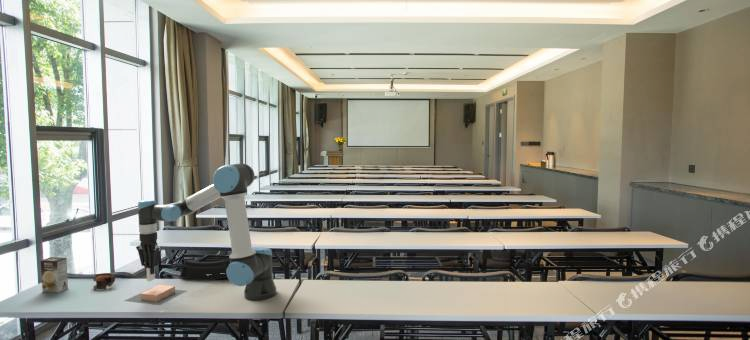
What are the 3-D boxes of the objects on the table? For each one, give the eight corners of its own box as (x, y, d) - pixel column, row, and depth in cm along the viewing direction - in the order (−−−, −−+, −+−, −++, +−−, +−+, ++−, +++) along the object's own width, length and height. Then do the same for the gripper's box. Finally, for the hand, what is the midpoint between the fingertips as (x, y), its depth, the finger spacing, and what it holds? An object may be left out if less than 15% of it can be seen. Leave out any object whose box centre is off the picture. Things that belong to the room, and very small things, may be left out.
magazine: (174, 263, 225) (227, 247, 224) (177, 261, 229) (229, 246, 228) (184, 293, 227) (237, 277, 226) (187, 290, 230) (239, 275, 229)
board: (159, 290, 209) (175, 292, 206) (140, 299, 197) (156, 301, 195) (159, 284, 208) (174, 286, 206) (140, 293, 197) (156, 295, 194)
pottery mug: (87, 291, 210) (89, 275, 214) (102, 293, 219) (104, 277, 222) (107, 286, 209) (109, 270, 212) (122, 288, 217) (123, 272, 221)
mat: (187, 292, 208) (187, 290, 208) (160, 306, 191) (160, 305, 191) (153, 288, 213) (153, 287, 213) (124, 302, 196) (124, 300, 196)
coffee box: (41, 292, 208) (39, 260, 207) (52, 287, 215) (50, 256, 213) (58, 292, 207) (56, 261, 206) (69, 288, 214) (67, 257, 212)
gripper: (165, 231, 202) (167, 278, 204) (143, 229, 205) (145, 276, 207) (153, 234, 195) (156, 284, 197) (130, 233, 198) (133, 281, 200)
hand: (150, 280), depth 202 cm, fingers closed
